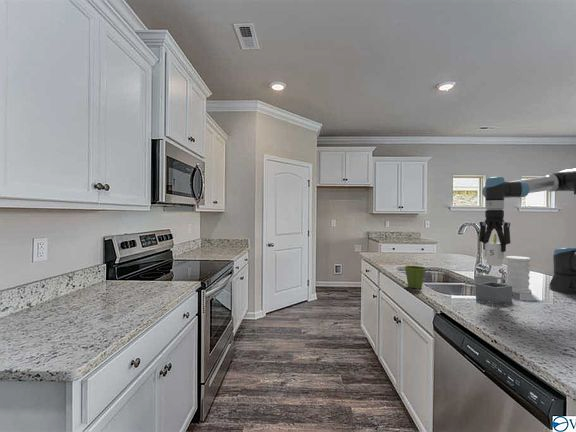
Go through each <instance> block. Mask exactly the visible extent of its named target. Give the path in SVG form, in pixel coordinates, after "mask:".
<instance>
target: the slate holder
mask: <svg viewBox="0 0 576 432" xmlns="http://www.w3.org/2000/svg"><path fill="white" fill-rule="evenodd" d="M476 298H477V299H476ZM475 299H476V300H479V299H480V300H479V301H483V300H485V301H484V302H487V301H490V302H493V303H492V304H494V303H500V304H503V303H502V302H506V303H510V302H509V301H512V302H513V292H512V286H509V285H507V284H504V283H503V284H500V282H497V283H495V282H486V283H478V284H476V286H475ZM490 302H489V303H490Z"/></svg>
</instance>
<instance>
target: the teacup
mask: <svg viewBox="0 0 576 432" xmlns="http://www.w3.org/2000/svg"><path fill="white" fill-rule="evenodd" d="M473 278H474V286H475V287H476V284H478V283H486V282H495V283H498V280H499V279H500V282H499V283H500V284H504V281H505V280H504V278H503V277H502V276H495V275H488V274H487V275H486V274H478V275H477V274H476V275H474V277H473Z"/></svg>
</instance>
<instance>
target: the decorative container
mask: <svg viewBox="0 0 576 432" xmlns="http://www.w3.org/2000/svg"><path fill="white" fill-rule="evenodd" d="M505 260H506V261H507V262H506V269H505V270H506V275H505V276H506V285H509V286H512V293H513V292H515V294H525V295H528V294H532V289H531V288H530V285H531V283H530V282H529V281H530V278H531V277H530V273H531V271H530V269H529V268H530V266H531V265H530V262H531V257H528V256H520V255H519V256H518V255H508V256H505Z"/></svg>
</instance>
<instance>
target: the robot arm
mask: <svg viewBox="0 0 576 432" xmlns="http://www.w3.org/2000/svg"><path fill="white" fill-rule="evenodd" d="M481 191H482V192H481V194H482V196H483V197H484V198H485V205H484V206H485V212H484V214H485V215H484V216H485V221H479V240H478V241H479V242H480V243H482V244H483V245H482V247H483V248H482V249H483V250H484V258H486V251H487V242H490V238H491V235H492V233H493V231H494V230H495V231H496V235H497V237H498V241H499V243H500V245H499V259H502V260H503V259H505V252H506V251H507V250H506V249H507V245H509V244H511V231H510V227H511V222H507V221H505V220H504V217H505V211H504V209H505V199H506V198H507V199H509V198H511V199H512V198H526V197H527V196H528V195H529V194H531V193H539V192H545V191H546V192H549V193H550V192H551V193H552V192H573V195H574V196H575V197H576V167H575V168H569V169H564V170H561V171H560V170H559V171H556V172H553V173H547V174H545V175H544V176H540V177H539V176H538V177H531V178H527V179H519V180H511V181H505V177H503V176H493V177H492V176H491V177H487V178H486V179H485V186H484V187H482V190H481ZM552 255H553V260H552V261H553V275H552V278H551V280H550V282H549V284H548V285H549V290H552V291H556V292H559V293H565V294H573V295H574V294H575V295H576V247H557V248H554V249H553V254H552Z"/></svg>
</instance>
